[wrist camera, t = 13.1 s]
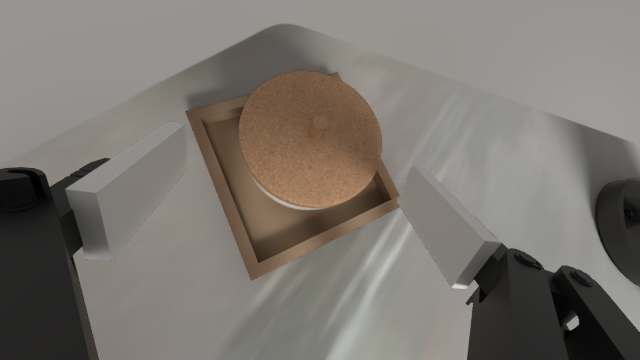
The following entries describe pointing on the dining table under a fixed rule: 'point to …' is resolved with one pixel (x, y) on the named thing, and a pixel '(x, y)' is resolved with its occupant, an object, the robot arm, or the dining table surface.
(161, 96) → the dining table surface
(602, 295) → the robot arm
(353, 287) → the dining table surface
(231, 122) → the walnut tray
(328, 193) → the lidded jar
